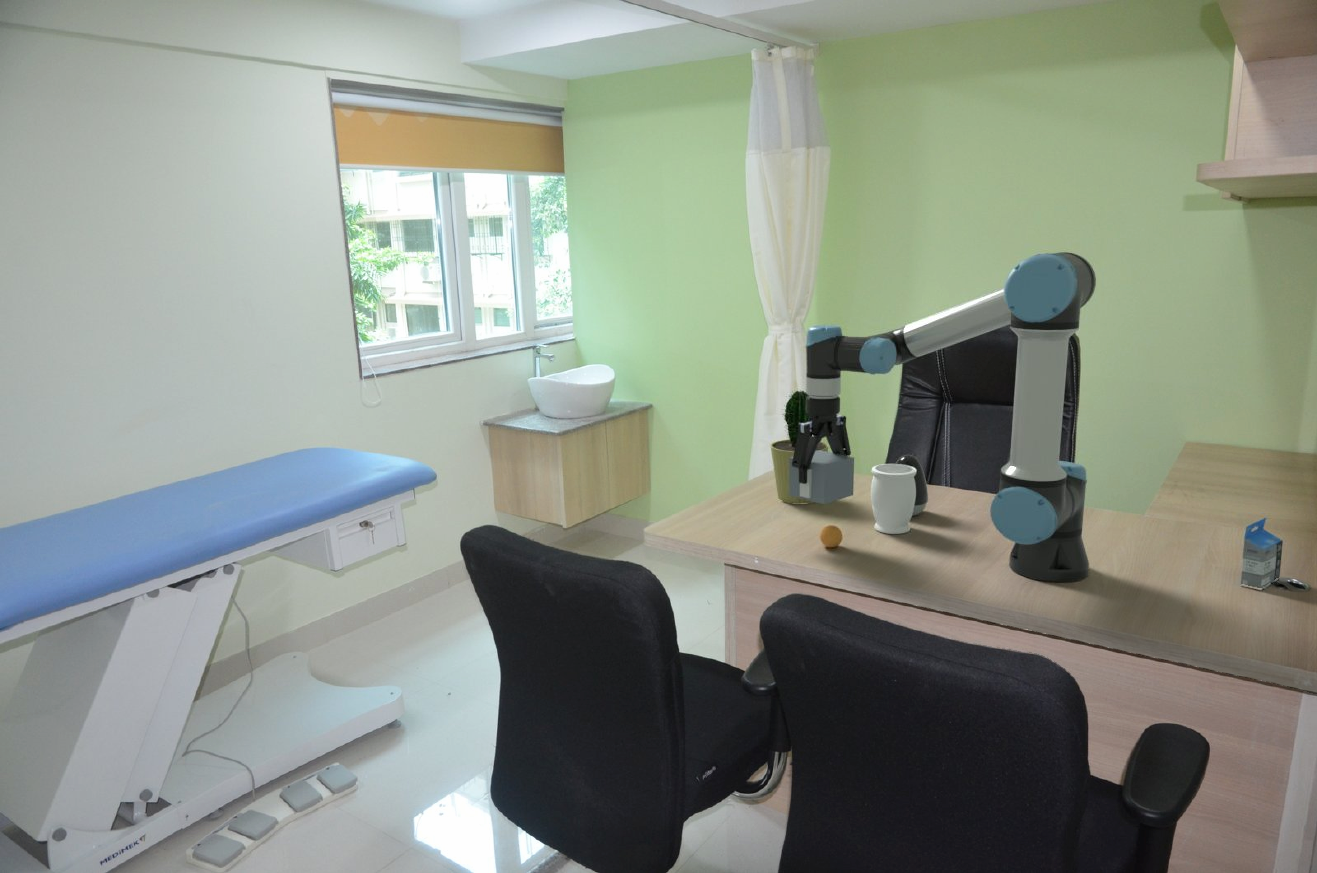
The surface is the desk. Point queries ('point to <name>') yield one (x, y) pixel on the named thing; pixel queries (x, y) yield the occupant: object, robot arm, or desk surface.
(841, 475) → the slate gray cube
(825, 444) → the potted cactus
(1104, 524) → the desk surface
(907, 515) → the jar
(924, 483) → the dark gray tall dome
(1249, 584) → the label tape box
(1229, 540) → the desk surface
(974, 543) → the desk surface
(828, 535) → the ball
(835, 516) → the desk surface
